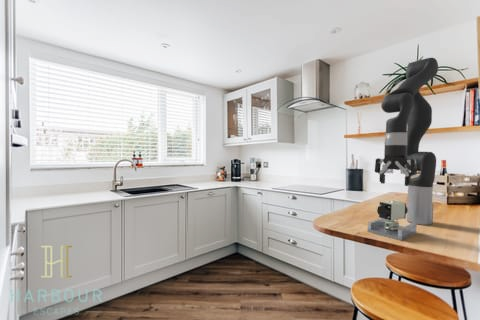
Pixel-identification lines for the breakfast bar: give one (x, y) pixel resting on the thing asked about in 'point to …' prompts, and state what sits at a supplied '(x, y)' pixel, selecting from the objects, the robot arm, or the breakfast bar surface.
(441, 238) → the breakfast bar surface
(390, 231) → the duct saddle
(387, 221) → the pneumatic valve
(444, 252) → the breakfast bar surface
